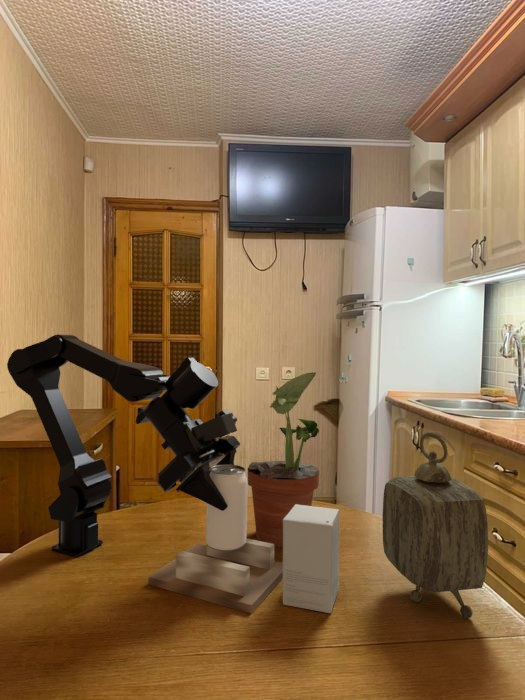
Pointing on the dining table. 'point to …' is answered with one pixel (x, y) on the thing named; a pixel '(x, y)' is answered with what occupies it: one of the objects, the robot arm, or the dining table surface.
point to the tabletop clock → (436, 529)
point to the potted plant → (283, 470)
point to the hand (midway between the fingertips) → (234, 502)
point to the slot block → (223, 574)
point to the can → (228, 509)
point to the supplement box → (311, 557)
